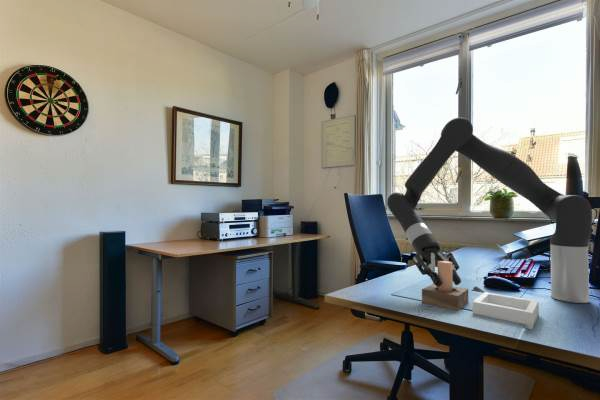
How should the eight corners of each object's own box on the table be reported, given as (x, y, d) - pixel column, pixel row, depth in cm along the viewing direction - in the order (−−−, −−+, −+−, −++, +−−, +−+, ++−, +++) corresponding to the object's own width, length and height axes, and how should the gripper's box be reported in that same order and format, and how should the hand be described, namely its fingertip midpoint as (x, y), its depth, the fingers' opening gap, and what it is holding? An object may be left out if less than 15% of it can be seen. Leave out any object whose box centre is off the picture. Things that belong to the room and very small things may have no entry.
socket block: (434, 299, 101) (434, 283, 101) (468, 305, 94) (468, 288, 94) (421, 306, 93) (421, 289, 93) (458, 314, 86) (458, 295, 86)
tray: (484, 305, 94) (484, 292, 94) (538, 315, 85) (538, 300, 85) (472, 316, 84) (472, 301, 84) (532, 329, 76) (532, 312, 76)
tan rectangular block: (440, 299, 96) (440, 260, 97) (454, 302, 94) (454, 262, 94) (435, 302, 93) (435, 262, 94) (450, 305, 91) (449, 263, 91)
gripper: (408, 233, 99) (435, 279, 87) (445, 231, 103) (476, 275, 92) (398, 247, 104) (422, 293, 92) (434, 246, 108) (461, 289, 97)
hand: (449, 284), depth 92 cm, fingers open, 6 cm apart
